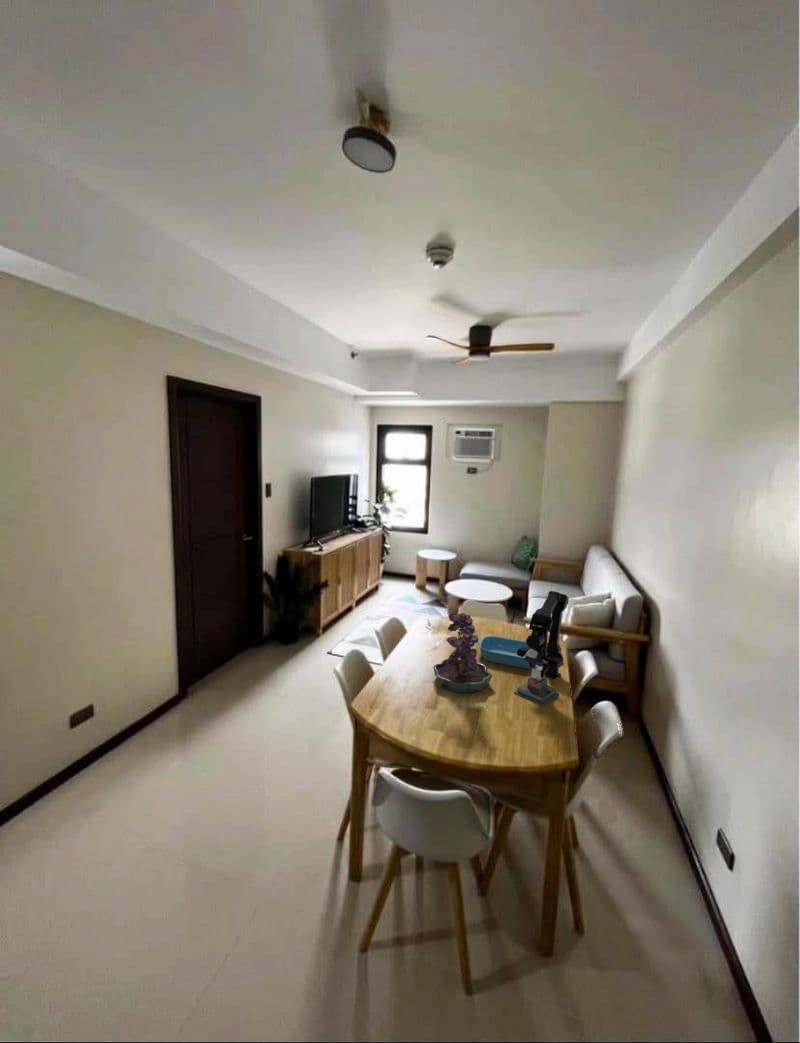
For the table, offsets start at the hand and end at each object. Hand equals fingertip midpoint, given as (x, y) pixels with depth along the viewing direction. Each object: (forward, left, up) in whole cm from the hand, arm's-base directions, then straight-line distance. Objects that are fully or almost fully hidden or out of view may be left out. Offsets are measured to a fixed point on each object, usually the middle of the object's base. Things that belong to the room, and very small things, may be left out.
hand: (537, 675), depth 188 cm
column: (0, 0, -8) cm, 8 cm away
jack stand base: (0, 0, -8) cm, 8 cm away
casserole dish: (-23, -26, -9) cm, 36 cm away
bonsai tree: (+19, -27, -8) cm, 34 cm away
